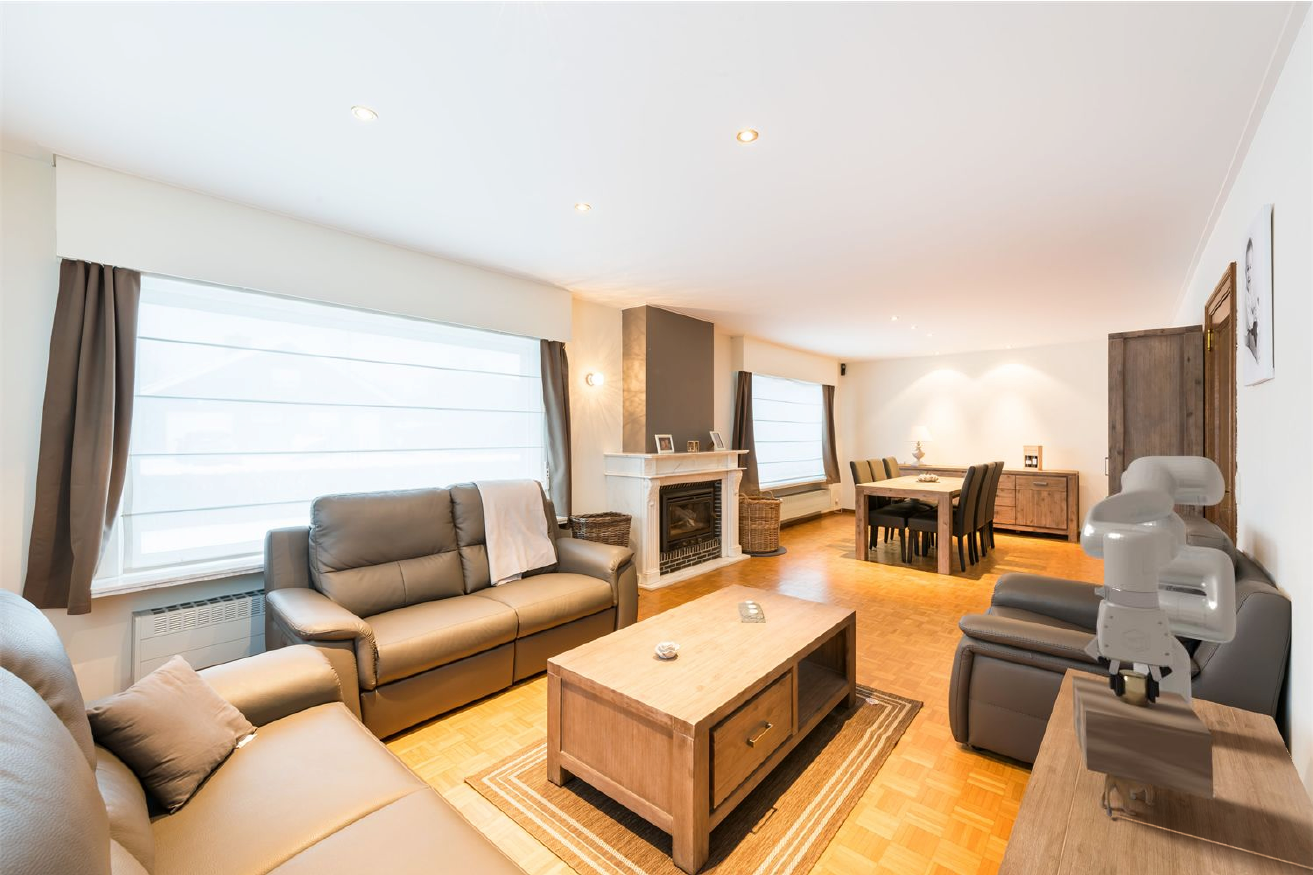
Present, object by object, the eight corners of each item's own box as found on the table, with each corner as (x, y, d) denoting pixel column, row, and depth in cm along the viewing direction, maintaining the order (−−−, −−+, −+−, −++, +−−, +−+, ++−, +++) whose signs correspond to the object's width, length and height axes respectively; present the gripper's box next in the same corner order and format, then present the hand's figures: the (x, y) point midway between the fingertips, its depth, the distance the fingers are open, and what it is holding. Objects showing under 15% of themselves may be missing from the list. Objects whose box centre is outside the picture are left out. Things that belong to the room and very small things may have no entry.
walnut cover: (1074, 727, 109) (1071, 651, 109) (1182, 749, 101) (1179, 667, 101) (1087, 769, 95) (1084, 681, 96) (1213, 799, 87) (1210, 703, 87)
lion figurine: (1129, 784, 102) (1128, 737, 103) (1166, 801, 98) (1164, 751, 98) (1092, 810, 95) (1090, 760, 96) (1129, 829, 91) (1128, 776, 91)
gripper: (1076, 596, 100) (1079, 694, 99) (1201, 609, 91) (1204, 717, 91) (1071, 586, 106) (1073, 679, 106) (1186, 598, 97) (1189, 698, 97)
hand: (1134, 695), depth 98 cm, fingers closed on walnut cover, 4 cm apart
